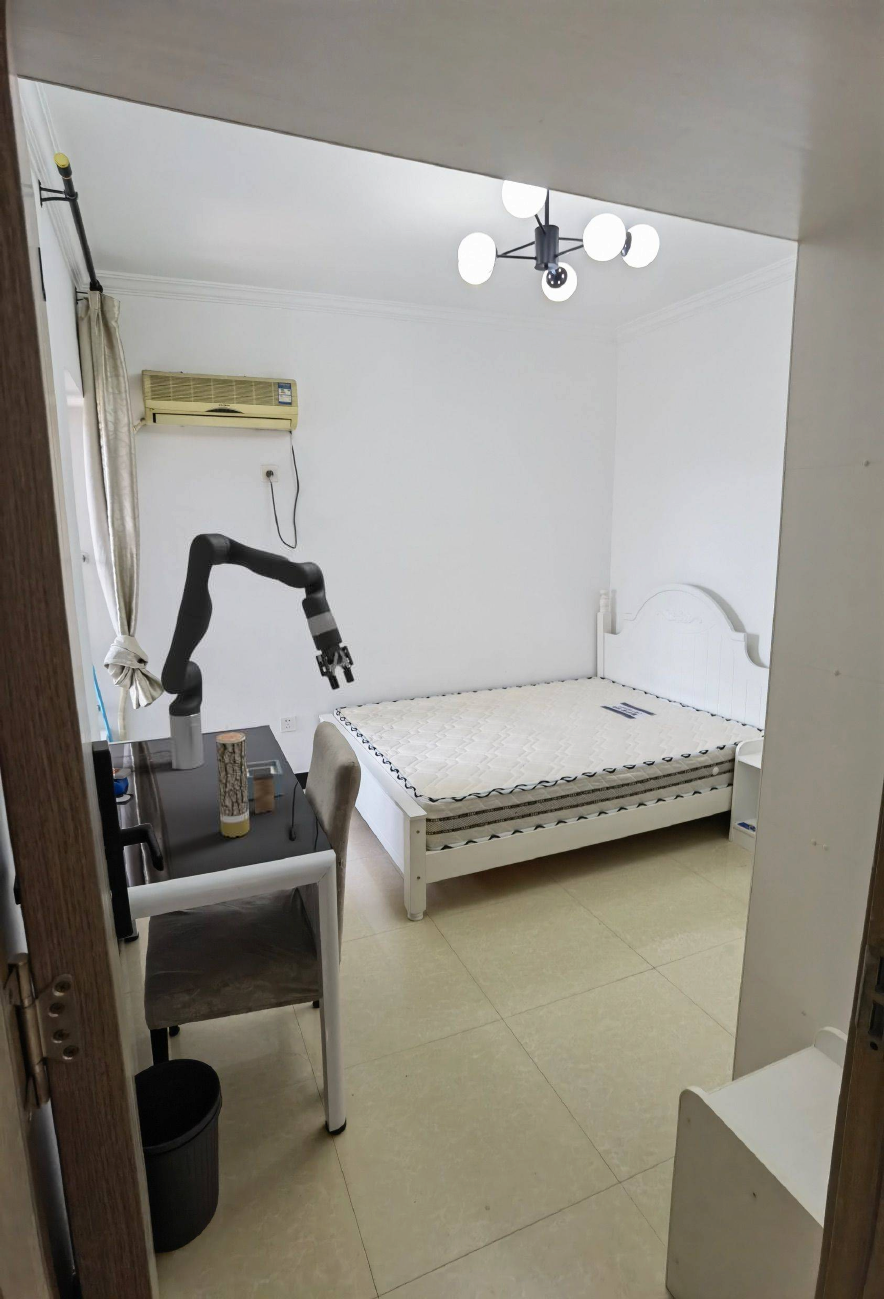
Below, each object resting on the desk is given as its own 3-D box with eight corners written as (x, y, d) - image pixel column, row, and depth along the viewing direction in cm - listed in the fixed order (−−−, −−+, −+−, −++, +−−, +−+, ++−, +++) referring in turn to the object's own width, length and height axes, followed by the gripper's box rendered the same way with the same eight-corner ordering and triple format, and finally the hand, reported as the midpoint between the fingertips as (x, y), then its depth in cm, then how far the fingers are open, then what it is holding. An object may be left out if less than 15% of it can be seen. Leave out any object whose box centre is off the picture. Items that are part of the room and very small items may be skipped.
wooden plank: (255, 813, 182) (253, 777, 180) (254, 810, 184) (253, 775, 182) (274, 810, 184) (273, 775, 182) (273, 808, 186) (272, 773, 184)
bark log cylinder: (224, 840, 167) (218, 742, 162) (219, 829, 172) (213, 734, 168) (252, 835, 170) (247, 738, 165) (246, 824, 176) (241, 731, 171)
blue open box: (239, 800, 190) (238, 775, 189) (237, 784, 201) (236, 760, 200) (283, 795, 194) (282, 770, 193) (279, 780, 205) (278, 756, 204)
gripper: (326, 631, 199) (345, 683, 199) (299, 638, 186) (319, 694, 186) (347, 623, 196) (366, 676, 197) (322, 630, 183) (342, 687, 183)
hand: (343, 685), depth 191 cm, fingers open, 8 cm apart
